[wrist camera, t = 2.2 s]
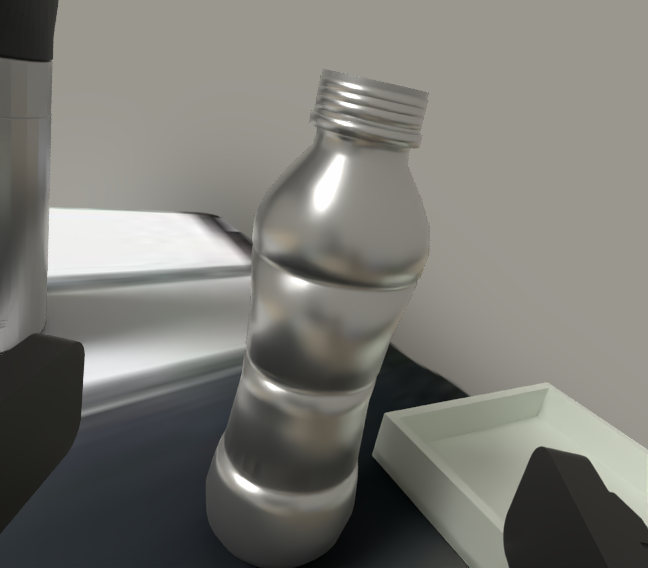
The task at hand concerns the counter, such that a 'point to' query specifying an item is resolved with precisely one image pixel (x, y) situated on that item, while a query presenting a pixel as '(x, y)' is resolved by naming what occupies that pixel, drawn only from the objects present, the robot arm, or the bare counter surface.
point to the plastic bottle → (320, 323)
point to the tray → (498, 460)
